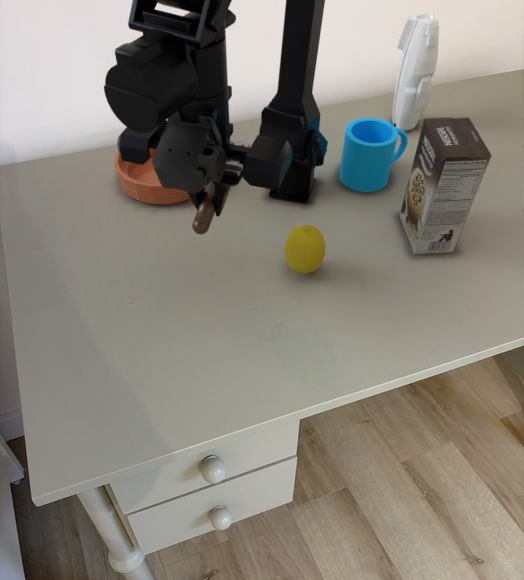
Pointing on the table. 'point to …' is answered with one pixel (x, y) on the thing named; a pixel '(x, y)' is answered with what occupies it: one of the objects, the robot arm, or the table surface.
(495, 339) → the table surface
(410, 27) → the white tall rounded piece
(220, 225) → the table surface
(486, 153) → the coffee box
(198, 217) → the brown sausage
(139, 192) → the bowl
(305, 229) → the lemon
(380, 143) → the mug
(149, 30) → the robot arm
